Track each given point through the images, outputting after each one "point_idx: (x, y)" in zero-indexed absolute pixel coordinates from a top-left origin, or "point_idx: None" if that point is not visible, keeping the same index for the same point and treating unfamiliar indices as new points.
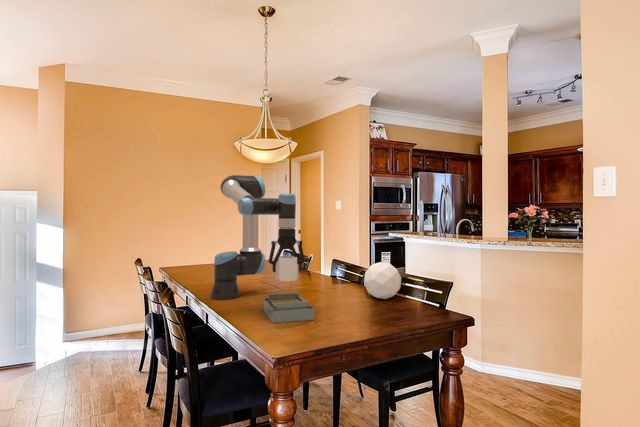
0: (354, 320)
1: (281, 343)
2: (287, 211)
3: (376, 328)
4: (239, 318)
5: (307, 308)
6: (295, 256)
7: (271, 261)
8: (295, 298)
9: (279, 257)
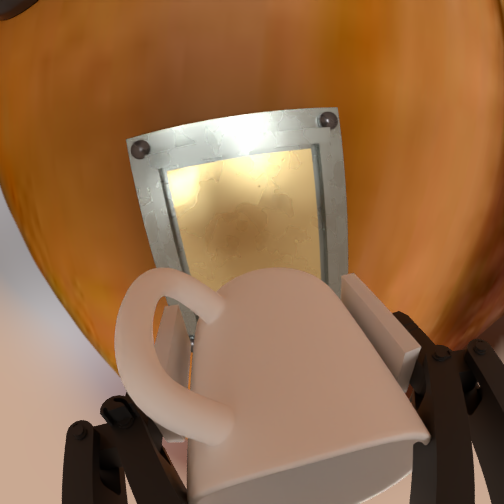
0: (425, 300)
1: None
2: None
3: None
4: (72, 264)
5: None
6: (415, 465)
7: (117, 470)
8: (303, 149)
9: (200, 492)
